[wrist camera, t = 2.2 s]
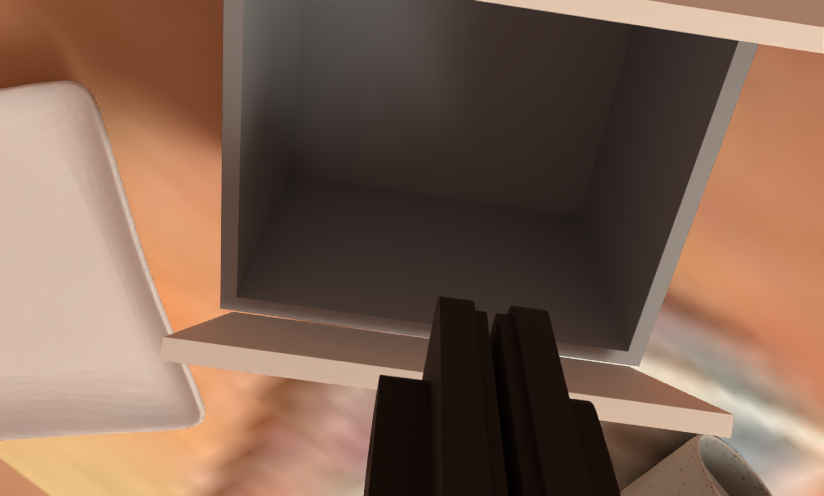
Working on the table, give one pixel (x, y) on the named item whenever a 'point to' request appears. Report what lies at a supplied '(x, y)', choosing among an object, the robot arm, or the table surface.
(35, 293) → the salad plate
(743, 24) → the flap
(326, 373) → the flap
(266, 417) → the table surface
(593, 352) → the carton
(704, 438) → the ceramic mug
